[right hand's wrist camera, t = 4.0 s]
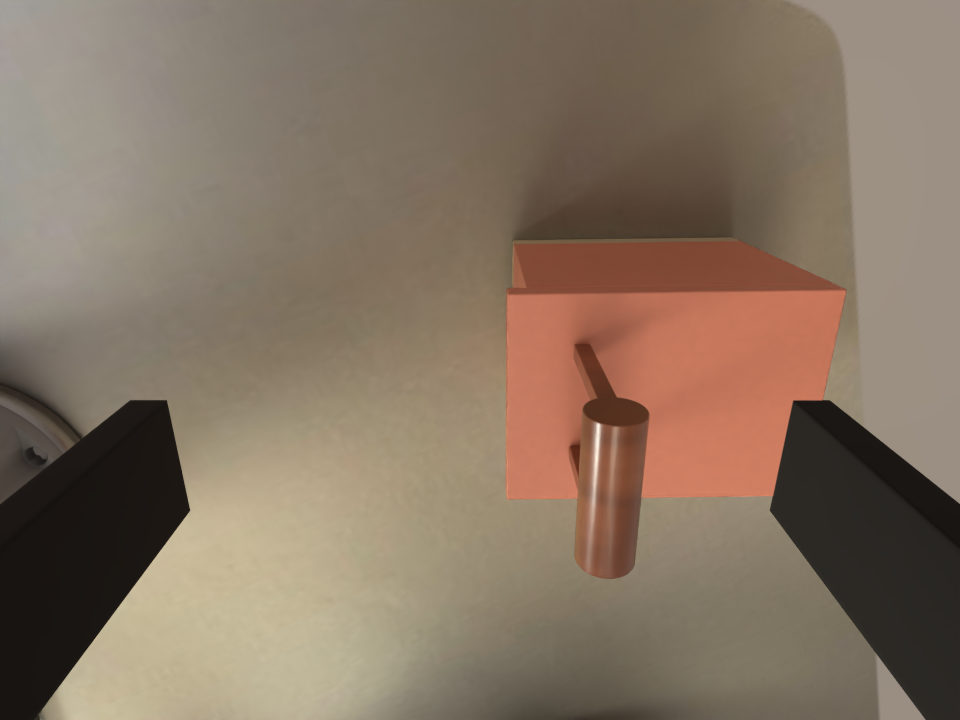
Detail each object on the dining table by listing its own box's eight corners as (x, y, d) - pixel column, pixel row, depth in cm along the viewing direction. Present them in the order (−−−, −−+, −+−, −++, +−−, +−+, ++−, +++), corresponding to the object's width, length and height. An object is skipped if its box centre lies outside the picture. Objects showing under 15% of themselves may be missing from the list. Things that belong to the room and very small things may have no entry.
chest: (511, 393, 40) (522, 487, 30) (512, 240, 36) (525, 286, 26) (711, 391, 40) (792, 483, 30) (733, 237, 36) (833, 282, 26)
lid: (505, 487, 29) (516, 627, 21) (506, 287, 26) (519, 364, 18) (792, 483, 29) (912, 622, 21) (834, 283, 26) (998, 357, 18)
